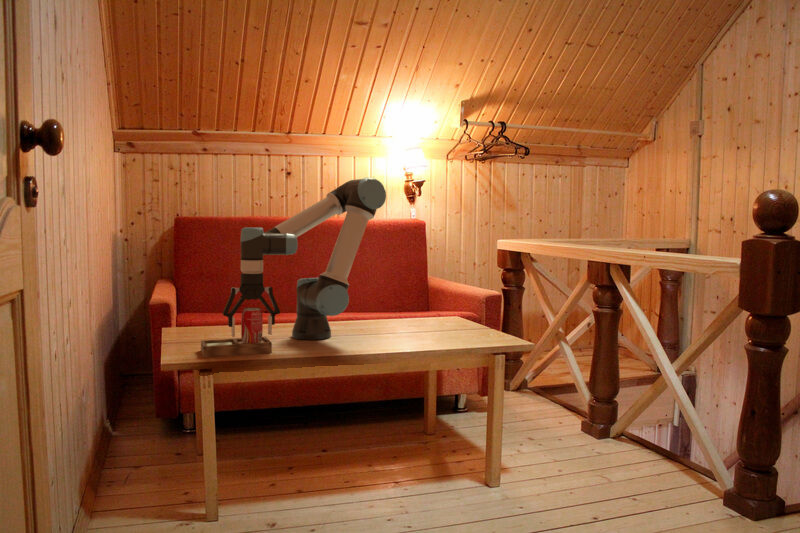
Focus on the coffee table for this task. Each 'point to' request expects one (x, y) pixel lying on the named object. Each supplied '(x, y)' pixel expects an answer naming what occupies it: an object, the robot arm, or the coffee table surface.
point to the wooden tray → (234, 347)
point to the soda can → (251, 325)
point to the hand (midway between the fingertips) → (251, 335)
